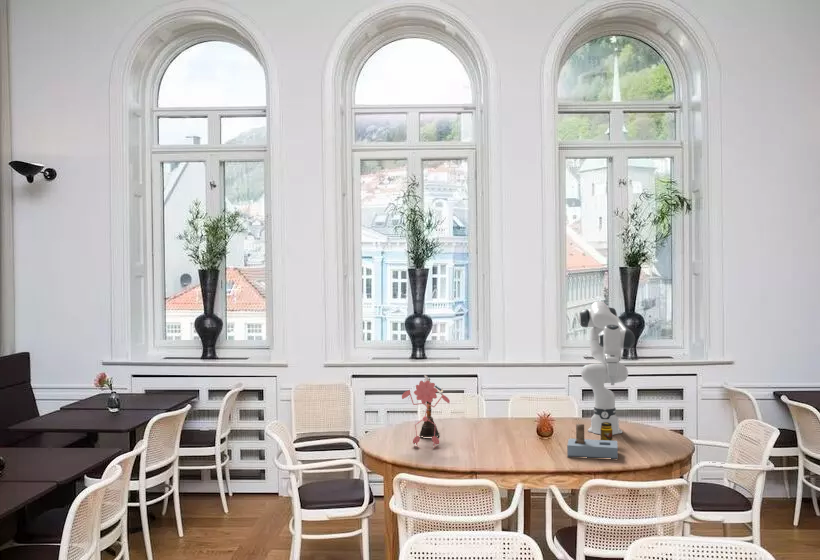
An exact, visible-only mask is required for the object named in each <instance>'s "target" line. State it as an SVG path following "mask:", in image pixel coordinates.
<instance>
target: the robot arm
mask: <svg viewBox="0 0 820 560" xmlns="http://www.w3.org/2000/svg"><path fill="white" fill-rule="evenodd" d="M577 316H578V317H577V319H578V320H577V321H578V323H579V325H580V327H582V328H590V329H589V333H588V334H589V335H588V336H589V337H588V338H589V345H590V353H591V357H592V358H593V359H595V360H597V361H598V362H600V363H590V364H585V365H584V366H583V367H582V368H581V373H580V374H581V378H582V380H583V381H584V382H585V383H586V384H587V385H589V387H591V389H592V392H593V398H594V407H593V415H592V416H591V418H590V423H591V424H590V427H589V428H588V429H587V432H589V433H593V434H596V435H601V423H603V422H609V423H611V424H612V425H611V426H612V427H611V428H612V436H614V435H618V434H623V430H622V429H621V428H620V427H619V426H620V425H619V421H620V420H619V417H618V416H617V415H616V414H617V408H616V395H615V393H614V392H613V391H612V390H611V389H608V388H606V387H605V384H610V385H611V386H615V384H617V383H623V382H625V381H626V380H627V379H628V377H629V371H628V368H627V367H626V365H624V364H623V363H621V361H622V349H625V350H627V349H628V350H630V349H631V348H632V347H634V345H635V344H636V343H635V342H636V337H635V334H634V332H633V331H632V330H631V329H630V328H628V326H627V324H625V323H624V321H623V320H622V318H621V317H619V316H618V313H617V310H616V309H615V308H614V307H609V306H608V305H607V303H605V302H604V301H600V300H597V301H594V302H593V303H592V304H591V306H590V308H586V309H582V310H580V311H579V313H578V315H577Z"/></svg>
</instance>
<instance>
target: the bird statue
mask: <svg viewBox="0 0 820 560" xmlns="http://www.w3.org/2000/svg"><path fill="white" fill-rule="evenodd" d="M423 377H424V381H423V382H424V383H425V382H426V381H427V380H429V381H430V383H432V381H431V378H430V376H429V377H428V375H426V374H424V375H423ZM434 388H436V389H437V390H438V391H437V392H436V393H438V394H440V395H441V396H442V395H444V394H443V393H444V390H443V387H439V386H438V385H436V384H435V386H434ZM433 401H434V400H432V402H433ZM432 402H431V403H429V402H428V401H427V402H426V404H429V405H432ZM429 405H427V406H428V409H427V408H426V409H427V413H426V417H427V418H428V420H430V421H431V422H433V423H434V424H433V423H431V422H430V421H428V420H427V421H426V422H425V421H423V423H422V426H421V430H420V432H419V435H418V436H423V437H434V431H435V437H437V436H439V437H440V432H439V430H438V427H437V425H436V423H435V421H434V418H433V417H432V406H429ZM435 425H436V426H435Z"/></svg>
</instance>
